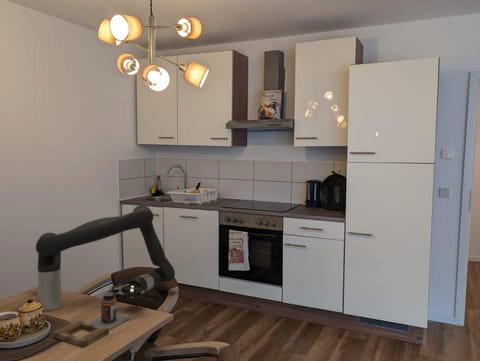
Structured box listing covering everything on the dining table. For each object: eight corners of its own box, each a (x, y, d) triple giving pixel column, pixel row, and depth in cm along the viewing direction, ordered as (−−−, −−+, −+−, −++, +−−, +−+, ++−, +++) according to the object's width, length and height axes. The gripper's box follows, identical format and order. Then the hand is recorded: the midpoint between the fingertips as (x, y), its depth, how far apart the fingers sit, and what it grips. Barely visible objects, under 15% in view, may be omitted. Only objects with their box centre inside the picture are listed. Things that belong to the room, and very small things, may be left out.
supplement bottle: (98, 322, 165) (97, 295, 164) (108, 316, 170) (107, 290, 169) (109, 324, 162) (109, 297, 161) (119, 318, 168) (119, 292, 167)
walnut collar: (53, 337, 152) (53, 332, 152) (79, 325, 163) (79, 320, 163) (84, 347, 145) (83, 342, 145) (108, 333, 155) (108, 328, 155)
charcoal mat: (86, 324, 164) (86, 323, 164) (108, 313, 174) (108, 312, 174) (108, 330, 158) (108, 329, 158) (130, 319, 169) (130, 318, 169)
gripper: (129, 274, 186) (102, 284, 172) (153, 278, 180) (128, 290, 165) (129, 289, 187) (103, 301, 172) (154, 295, 180) (128, 308, 166)
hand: (115, 296), depth 169 cm, fingers open, 8 cm apart
